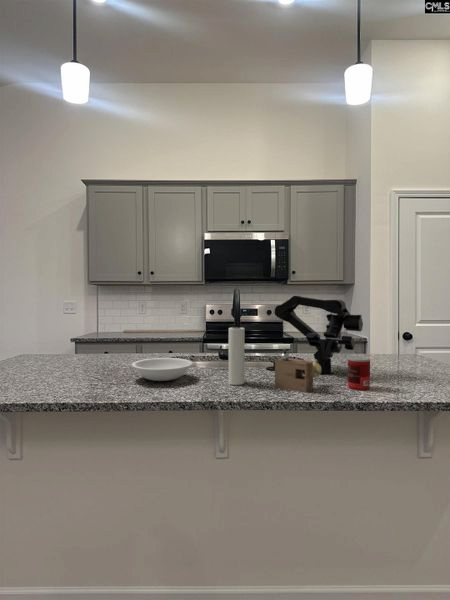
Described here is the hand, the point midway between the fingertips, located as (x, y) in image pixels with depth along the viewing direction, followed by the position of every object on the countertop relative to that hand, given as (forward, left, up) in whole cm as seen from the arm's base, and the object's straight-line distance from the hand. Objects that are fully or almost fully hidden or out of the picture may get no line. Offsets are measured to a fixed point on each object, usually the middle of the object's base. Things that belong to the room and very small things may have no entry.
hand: (324, 357), depth 153 cm
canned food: (+14, +5, -9) cm, 18 cm away
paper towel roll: (-6, -35, -9) cm, 36 cm away
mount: (+7, -18, -9) cm, 21 cm away
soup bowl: (-21, -61, -9) cm, 65 cm away
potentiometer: (+5, -20, +1) cm, 21 cm away
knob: (+7, -10, -6) cm, 14 cm away
